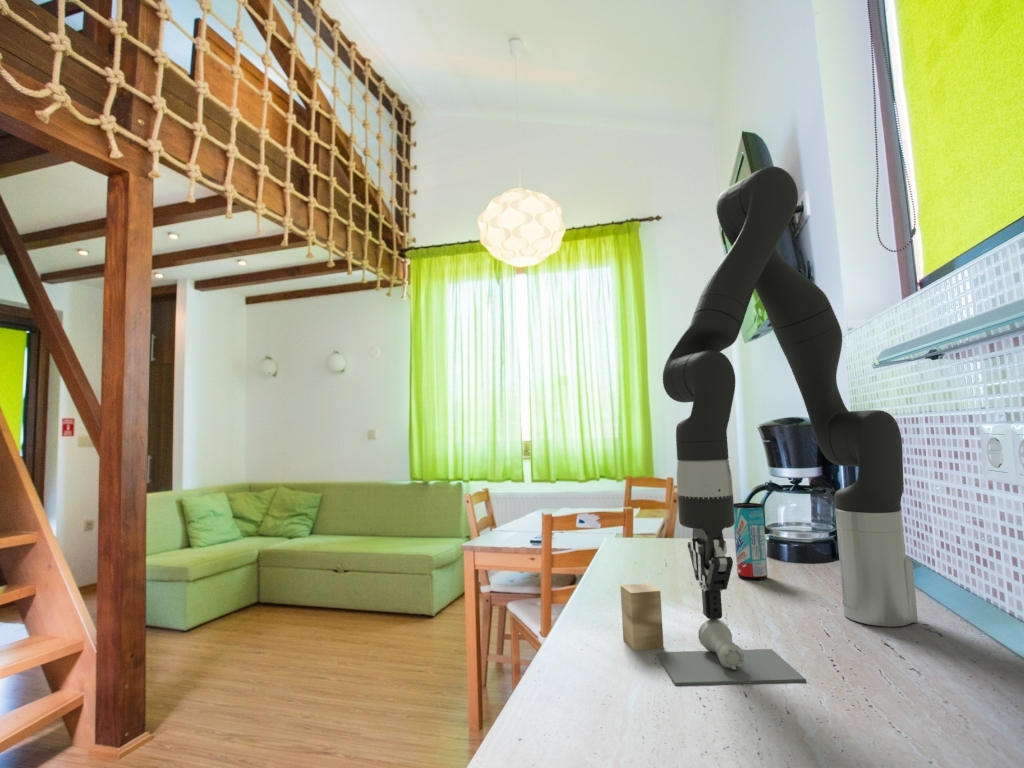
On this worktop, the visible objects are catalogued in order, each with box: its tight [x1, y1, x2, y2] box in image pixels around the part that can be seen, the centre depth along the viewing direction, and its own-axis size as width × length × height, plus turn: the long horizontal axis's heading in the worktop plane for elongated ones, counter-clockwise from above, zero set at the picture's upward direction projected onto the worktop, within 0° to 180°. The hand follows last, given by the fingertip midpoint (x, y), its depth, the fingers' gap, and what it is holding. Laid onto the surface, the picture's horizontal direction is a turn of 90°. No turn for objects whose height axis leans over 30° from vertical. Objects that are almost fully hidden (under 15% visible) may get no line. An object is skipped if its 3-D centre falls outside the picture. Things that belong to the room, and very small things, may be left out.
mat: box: [656, 648, 807, 686], centre depth 76 cm, size 16×10×1 cm, turn 89°
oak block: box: [620, 582, 665, 651], centre depth 86 cm, size 4×4×8 cm
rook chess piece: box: [698, 619, 744, 670], centre depth 78 cm, size 4×4×8 cm
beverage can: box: [733, 502, 769, 581], centre depth 122 cm, size 6×6×15 cm
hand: (712, 617), depth 81 cm, fingers closed
